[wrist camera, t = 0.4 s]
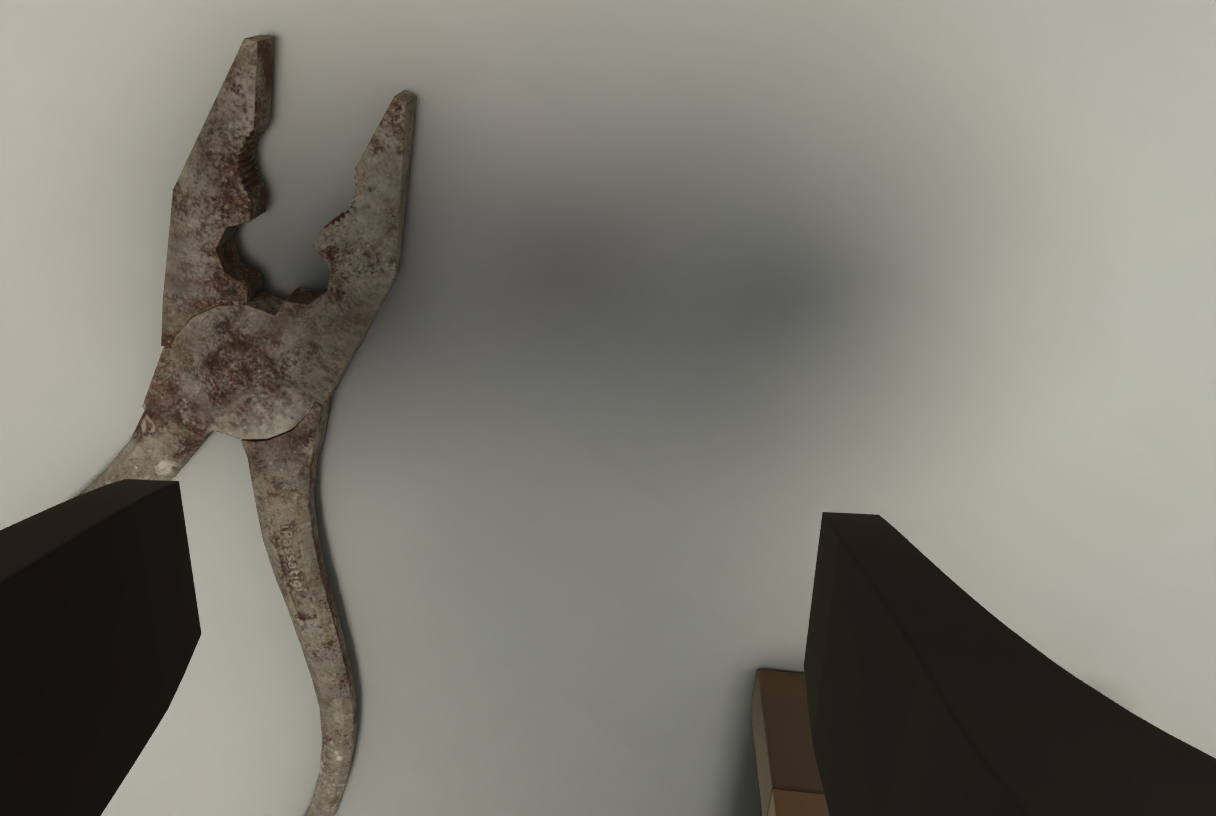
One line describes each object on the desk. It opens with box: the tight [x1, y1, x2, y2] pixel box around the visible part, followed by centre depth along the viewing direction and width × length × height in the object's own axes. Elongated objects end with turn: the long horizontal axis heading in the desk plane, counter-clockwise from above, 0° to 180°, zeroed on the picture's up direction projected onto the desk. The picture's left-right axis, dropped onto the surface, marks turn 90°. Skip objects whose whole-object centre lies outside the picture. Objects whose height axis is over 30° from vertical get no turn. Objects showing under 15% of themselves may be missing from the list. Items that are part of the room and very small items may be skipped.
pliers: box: [80, 35, 416, 816], centre depth 23 cm, size 10×1×20 cm
